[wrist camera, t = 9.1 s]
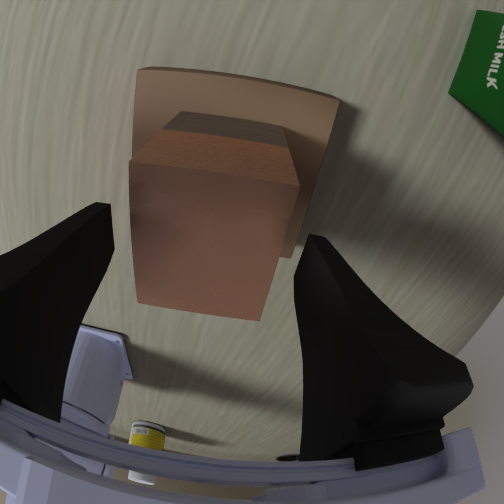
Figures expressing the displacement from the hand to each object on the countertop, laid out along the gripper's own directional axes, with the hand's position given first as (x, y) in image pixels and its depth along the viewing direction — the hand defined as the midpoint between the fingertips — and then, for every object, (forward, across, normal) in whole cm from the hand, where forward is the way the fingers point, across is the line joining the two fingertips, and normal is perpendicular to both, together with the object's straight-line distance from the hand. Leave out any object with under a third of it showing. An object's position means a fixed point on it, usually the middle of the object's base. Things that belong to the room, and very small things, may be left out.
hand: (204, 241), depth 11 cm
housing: (+6, 0, 0) cm, 6 cm away
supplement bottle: (+9, +8, +49) cm, 50 cm away
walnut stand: (+8, 0, 0) cm, 8 cm away
